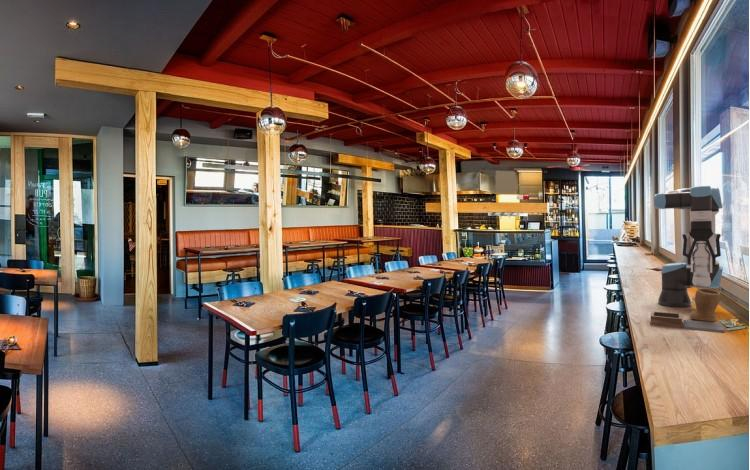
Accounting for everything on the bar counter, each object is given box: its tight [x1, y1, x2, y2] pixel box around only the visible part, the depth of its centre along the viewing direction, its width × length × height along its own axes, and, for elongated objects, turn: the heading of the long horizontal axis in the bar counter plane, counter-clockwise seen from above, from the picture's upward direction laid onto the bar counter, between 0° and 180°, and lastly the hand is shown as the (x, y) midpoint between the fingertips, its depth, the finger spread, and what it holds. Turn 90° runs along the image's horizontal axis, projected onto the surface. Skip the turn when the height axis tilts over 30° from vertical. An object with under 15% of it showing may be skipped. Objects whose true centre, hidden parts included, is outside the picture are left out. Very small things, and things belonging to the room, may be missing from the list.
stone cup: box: [688, 287, 722, 322], centre depth 201 cm, size 15×12×15 cm
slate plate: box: [682, 319, 725, 333], centre depth 189 cm, size 14×14×1 cm
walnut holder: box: [650, 310, 683, 329], centre depth 197 cm, size 12×12×4 cm
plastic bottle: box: [691, 243, 711, 288], centre depth 188 cm, size 6×7×20 cm
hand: (701, 271), depth 188 cm, fingers closed on plastic bottle, 6 cm apart
